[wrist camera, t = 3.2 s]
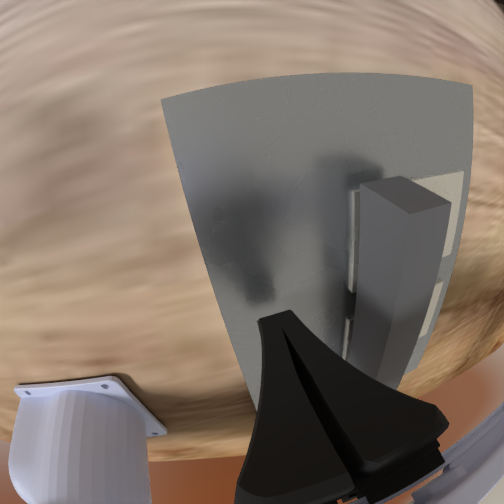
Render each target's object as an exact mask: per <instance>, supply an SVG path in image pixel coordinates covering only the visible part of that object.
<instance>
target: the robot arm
mask: <svg viewBox="0 0 504 504" xmlns="http://www.w3.org/2000/svg"><path fill="white" fill-rule="evenodd" d="M257 323H258V328H259V332H260V336H261V347H262V371H261V386H260V395H259V402H258V409H257V414H256V419H255V424H254V429H253V433H252V437H251V441H250V444H249V448H248V451H247V455H246V458H245V461H244V464H243V467H242V469H241V472H240V475H239V478H238V481H237V486H236V492H235V500H234V504H338V503H337V500H339V499H342V502H343V503H344V502H347V501H350V500H352V499H354V498H358V500H355V501H353V502H351V503H348V504H383V503H385V502H387V501H389V500H391V499H393V498H395V497H397V496H399V495H400V494H402V493H404V492H406V491H408V490H409V489H411V488H413V487H414V486H416V485H418V484H419V483H421V482H423V481H424V480H425V479H427V478H429V477H430V476H432V475H433V474H435V473H437V472H438V471H439V470H441V469H442V468H444V469H443V473H442V474H441V475H440V476H438V477H437V478H435V479H433V480H432V481H430V482H428V483H427V484H425V485H424V486H422V487H421V488H419V489H418V490H416V491H414V492H413V493H412V494H411V495H412V497H413V499H414V501H412V502H410V503H408V504H478V503H479V502H480V501H481V500H482V499H483V498H484V497H485V496H486V495H487V494H488V493H489V492H490V491H491V490H492V489H493V488H494V486H495V485H496V484H497V483H498V482H499V481H500V480H501V478H502V477H503V476H504V402H503V403H502V404H501V405H500V406H499V407H498V408H497V409H496V410H494V411H493V412H492V413H491V414H490V415H489V416H488V417H487V418H486V419H485V420H484V421H482V422H481V423H480V424H479V425H478V426H476V427H475V428H474V429H473V430H472V431H470V432H469V433H468V434H467V435H465V436H464V437H463V438H462V439H460V440H459V441H458V442H456V443H455V444H454V445H452V446H451V447H450V448H448V449H447V450H446V451H444V452H442V453H440V451H439V450H438V447H439V446H440V444H439V442H438V441H437V438H438V437H439V436H440V435H441V434H442V433H443V432H444V431H445V430H446V429H447V428H448V426H449V422H448V420H447V419H446V417H445V416H444V415H443V414H442V412H441V411H440V410H439V409H438V408H437V406H436V405H434V404H430V403H427V402H424V401H421V400H419V399H416V398H413V397H411V396H408V395H406V394H403V393H401V392H399V391H396V390H394V389H392V388H390V387H388V386H386V385H385V384H383V383H381V382H379V381H377V380H375V379H373V378H371V377H370V376H368V375H366V374H365V373H363V372H362V371H360V370H359V369H357V368H355V367H354V366H353V365H351V364H350V363H348V362H347V361H346V360H344V359H343V358H342V357H340V356H339V355H338V354H336V353H335V352H334V351H333V350H331V349H330V348H329V347H328V346H327V345H326V344H325V343H323V342H322V341H321V340H320V339H319V338H318V337H317V336H316V335H315V334H313V333H312V332H311V331H310V330H309V329H308V328H307V327H306V326H305V325H304V323H303V322H302V321H301V320H300V319H299V318H298V317H297V316H296V315H295V313H294V312H293V311H292V310H290V309H289V310H286V311H283V312H279V313H276V314H273V315H269V316H266V317H262V318H259V319H258V321H257ZM14 391H15V393H16V394H17V395H18V396H19V397H20V398H21V400H20V404H19V408H18V412H17V416H16V421H15V425H14V430H13V436H12V441H11V447H10V454H9V473H10V477H11V480H12V483H13V485H14V488H15V489H16V491H17V493H18V494H19V495H20V496H21V498H22V499H23V500H24V501H25V502H27V503H28V504H152V500H151V491H150V481H149V471H148V470H149V469H148V455H147V437H152V436H161V435H166V434H167V428H165V427H164V426H163V425H162V424H161V423H160V422H159V421H158V420H157V419H156V418H155V417H154V416H153V415H152V414H151V413H150V412H149V411H148V410H147V409H146V408H145V407H144V406H143V405H142V404H141V403H140V401H139V400H138V399H137V398H136V397H135V396H134V395H133V394H132V393H131V392H130V391H129V390H128V388H127V387H126V386H125V385H124V384H123V383H122V382H121V380H120V379H118V378H117V377H114V376H106V377H99V378H92V379H84V380H75V381H66V382H56V383H45V384H31V385H16V386H15V388H14Z"/></svg>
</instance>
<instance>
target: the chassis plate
mask: <svg viewBox="0 0 504 504" xmlns="http://www.w3.org/2000/svg"><path fill="white" fill-rule="evenodd" d="M161 103H162V108H163V112H164V116H165V120H166V124H167V129H168V133H169V137H170V141H171V145H172V149H173V153H174V156H175V160H176V164H177V168H178V172H179V175H180V179H181V183H182V186H183V190H184V194H185V197H186V201H187V204H188V208H189V211H190V215H191V218H192V222H193V225H194V229H195V232H196V235H197V239H198V242H199V245H200V249H201V252H202V255H203V258H204V262H205V265H206V268H207V271H208V274H209V278H210V281H211V284H212V287H213V290H214V293H215V296H216V299H217V302H218V305H219V308H220V311H221V314H222V317H223V320H224V323H225V326H226V329H227V332H228V335H229V337H230V340H231V343H232V346H233V349H234V352H235V354H236V357H237V360H238V363H239V365H240V368H241V371H242V374H243V376H244V379H245V382H246V384H247V387H248V390H249V392H250V395H251V397H252V400H253V403H254V405H255V408H256V410H257V409H258V402H259V395H260V386H261V371H262V347H261V336H260V332H259V328H258V323H257V321H258V319H259V318H262V317H266V316H269V315H273V314H276V313H279V312H283V311H286V310H289V309H290V310H292V311H293V312H294V313H295V315H296V316H297V317H298V318H299V319H300V320H301V321H302V322H303V323H304V325H305V326H306V327H307V328H308V329H309V330H310V331H311V332H312V333H313V334H315V335H316V336H317V337H318V338H319V339H320V340H321V341H322V342H323V343H325V344H326V345H327V346H328V347H329V348H330V349H331V350H333V351H334V352H335V353H336V354H338V355H339V356H340V357H342V358H343V359H344V360H346V361H347V362H349V355H350V348H351V340H352V332H353V324H354V314H355V304H356V293H357V280H358V264H359V242H360V183H364V182H370V181H375V180H380V179H385V178H390V177H396V176H403V177H405V178H407V179H409V180H411V181H413V182H415V183H417V184H419V185H421V186H423V187H424V188H426V189H428V190H430V191H432V192H434V193H436V194H437V195H439V196H441V197H443V198H445V199H446V200H448V201H450V202H452V204H451V211H450V218H449V224H448V230H447V235H446V240H445V245H444V250H443V255H442V259H441V263H440V268H439V272H438V276H437V280H436V283H435V287H434V291H433V294H432V298H431V301H430V304H429V307H428V311H427V314H426V317H425V320H424V323H423V326H422V329H421V332H420V334H419V337H418V340H417V343H416V345H415V348H414V350H413V353H412V355H411V358H410V360H409V363H408V365H407V368H406V370H405V372H404V375H405V374H407V373H409V372H410V371H412V370H414V369H416V368H417V366H418V364H419V362H420V360H421V358H422V355H423V353H424V351H425V348H426V346H427V344H428V341H429V339H430V336H431V334H432V331H433V329H434V326H435V323H436V321H437V318H438V315H439V312H440V310H441V307H442V304H443V301H444V298H445V294H446V291H447V288H448V285H449V281H450V278H451V274H452V271H453V267H454V263H455V259H456V255H457V251H458V247H459V243H460V238H461V233H462V228H463V223H464V218H465V212H466V206H467V199H468V192H469V184H470V175H471V164H472V150H473V90H472V85H468V84H463V83H458V82H453V81H447V80H441V79H434V78H426V77H418V76H408V75H396V74H380V73H320V74H303V75H290V76H280V77H271V78H263V79H256V80H249V81H242V82H236V83H231V84H225V85H220V86H215V87H210V88H205V89H201V90H196V91H192V92H188V93H184V94H180V95H176V96H172V97H169V98H165V99H162V100H161Z"/></svg>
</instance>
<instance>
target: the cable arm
mask: <svg viewBox="0 0 504 504" xmlns="http://www.w3.org/2000/svg"><path fill="white" fill-rule="evenodd" d="M451 204H452V202H450V201H448V200H446V199H445V198H443V197H441V196H439V195H437V194H436V193H434V192H432V191H430V190H428V189H426V188H424V187H423V186H421V185H419V184H417V183H415V182H413V181H411V180H409V179H407V178H405V177H403V176H396V177H390V178H385V179H380V180H375V181H370V182H364V183H360V242H359V264H358V280H357V293H356V304H355V314H354V324H353V332H352V340H351V348H350V355H349V362H348V363H350V364H351V365H353V366H354V367H355V368H357V369H359V370H360V371H362V372H363V373H365V374H366V375H368V376H370V377H371V378H373V379H375V380H377V381H379V382H381V383H383V384H385V385H386V386H388V387H390V388H392V389H394V390H397V388H398V386H399V383H400V381H401V379H402V377H403V375H404V372H405V370H406V368H407V365H408V363H409V360H410V358H411V355H412V353H413V350H414V348H415V345H416V343H417V340H418V337H419V334H420V332H421V329H422V326H423V323H424V320H425V317H426V314H427V311H428V307H429V304H430V301H431V298H432V294H433V291H434V287H435V283H436V280H437V276H438V272H439V268H440V263H441V259H442V255H443V250H444V245H445V240H446V235H447V230H448V224H449V218H450V211H451Z"/></svg>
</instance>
